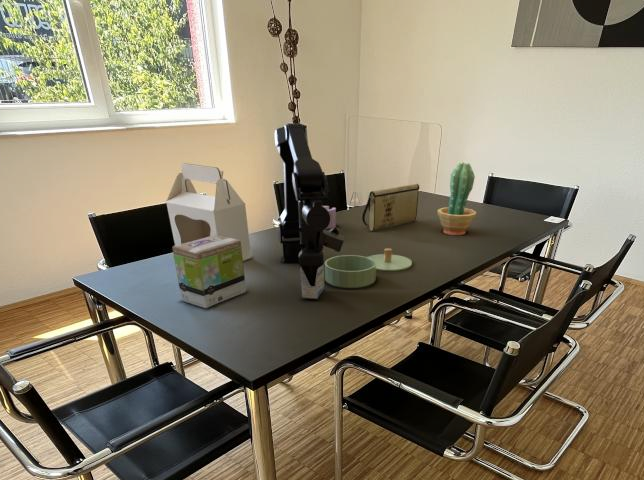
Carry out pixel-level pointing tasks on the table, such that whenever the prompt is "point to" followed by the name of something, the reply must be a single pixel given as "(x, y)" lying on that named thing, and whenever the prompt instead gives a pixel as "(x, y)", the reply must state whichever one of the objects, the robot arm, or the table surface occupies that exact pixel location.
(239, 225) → the gable box
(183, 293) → the tea box
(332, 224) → the purple piece
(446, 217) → the potted cactus
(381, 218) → the clutch purse
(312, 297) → the medicine box
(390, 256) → the pot lid
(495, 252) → the table surface
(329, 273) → the pot
